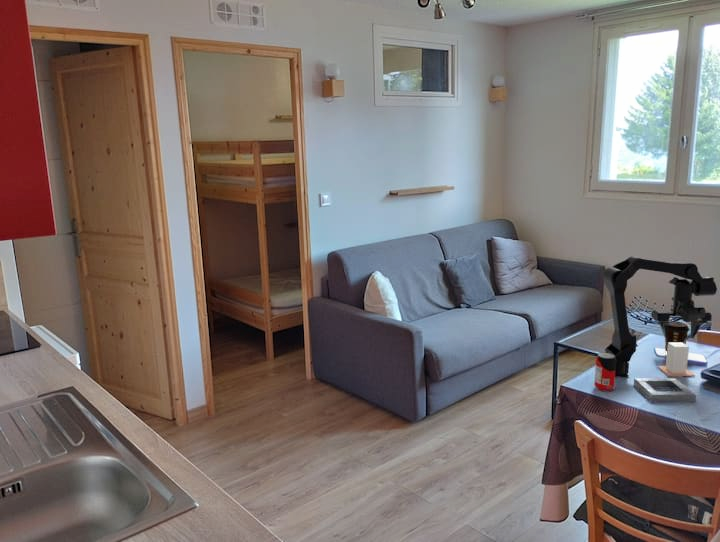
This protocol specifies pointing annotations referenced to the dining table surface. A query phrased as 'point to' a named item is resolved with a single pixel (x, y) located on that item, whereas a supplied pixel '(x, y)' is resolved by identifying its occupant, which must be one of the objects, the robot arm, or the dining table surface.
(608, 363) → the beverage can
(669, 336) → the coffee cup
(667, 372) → the terracotta tile
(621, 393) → the dining table surface
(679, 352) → the end plug
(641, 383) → the bore housing
